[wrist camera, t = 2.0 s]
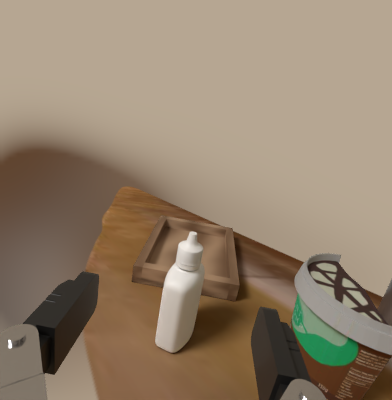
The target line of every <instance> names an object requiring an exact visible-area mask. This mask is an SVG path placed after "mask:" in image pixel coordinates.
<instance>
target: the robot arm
mask: <svg viewBox="0 0 392 400" xmlns="http://www.w3.org/2000/svg"><path fill="white" fill-rule="evenodd" d="M98 285H99V275H98V274H94V273H89V272H84V271H83V272H82V273H80V275H79V276H78V277H77V278H76V279H75V280H74V281H73V280H67V281H66V282H64V283H62V284H60V285H59V286H58V287H57V288H56V289H55V290H54V291H53V292H52V294H50V295H49V296H48V297H47V298H46V300H45V301H44V302H43V303H42V304H41V305H40V306H39V307H38V308H37V309H36V310H35V311H34V312H33V313H32V314H31V315H30V316H29V317H28V318H27V320H26V321H25V322H24V323H23V324H19V325H15V326H12V327H9V328H7V329H5V330H4V331H2V332H1V333H0V400H47V393H46V384H45V376H44V374H45V373H48V374H53V375H54V374H55V373H56V372H57V370H58V368H59V367H60V365H61V364H62V362H63V360H64V359H65V357H66V356H67V354H68V353H69V351H70V349H71V348H72V346H73V345H74V343H75V341H76V340H77V338H78V337H79V335H80V333H81V332H82V330H83V329H84V327H85V325H86V324H87V322H88V321H89V319H90V318H91V316H92V314H93V313H94V310H95V308H96V305H97V299H98ZM377 311H378V312H379V313H380V314H381V316H382V317H383V318H384V320H385V321H386V322H387V323H388V324H389V325H390V326H392V280H391V282H390V284H389V286H388V289H387V290H386V293H385V295H384V297H383V299H382V301H381V303H380V305H379V307H378V309H377ZM251 347H252V354H253V360H254V367H255V374H256V381H257V387H258V394H259V400H326V398H325V396H324V394H323V393H322V392H321V391H320V390H319V389H318V388H317V387H316V386H315V385H314V384H312V382H311V379H310V377H309V374H308V371H307V368H306V365H305V362H304V360H303V357H302V354H301V352H300V348H299V345H298V344H297V340H296V337H295V334H294V332H293V331H292V329H291V328H290V327H289V326H288V324H287V323H283V322H280V319H279V315H278V312H277V310H275V309H270V308H265V307H260V308H259V311H258V314H257V317H256V321H255V324H254V327H253V331H252V336H251Z"/></svg>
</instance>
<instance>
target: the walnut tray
mask: <svg viewBox="0 0 392 400" xmlns="http://www.w3.org/2000/svg"><path fill="white" fill-rule="evenodd" d="M191 231H193V232H196V233H197V242H198V243H200V244H201V245H202V246H203V254H202V259H201V263H202V264H203V266H204V269H205V275H204V281H203V286H202V291H201V295H205V296H210V297H216V298H221V299H226V300H231V301H236V298H237V294H238V290H239V286H240V284H239V276H238V268H237V260H236V253H235V245H234V237H233V229H232V228H228V227H222V226H217V225H211V224H206V223H201V222H195V221H190V220H184V219H179V218H173V217H168V216H163V215H161V217H160V218H159V220H158V222H157V224H156V226H155V227H154V229H153V231H152V233H151V235H150V236H149V238H148V240H147V242H146V244H145V246H144V247H143V249H142V251H141V253H140V255H139V256H138V258H137V260H136V262H135V264H134V265H133V275H132V282H137V283H142V284H147V285H152V286H158V287H164V282H165V278H166V275H167V273H168V271H169V270H170V268H171V267H172V266H173V265H174V264H175V263H176V256H177V250H178V245H179V243H180V242H182V241H185V240H187V238H188V236H189V233H190V232H191Z"/></svg>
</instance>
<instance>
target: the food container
mask: <svg viewBox="0 0 392 400" xmlns="http://www.w3.org/2000/svg"><path fill="white" fill-rule="evenodd" d="M340 258H341V255H338V254H329V253H325V254H316V255H314V256H311V257H310V258H309V259H308V260H307V261H306V262H304V264H303V265H302V267H301V268H300V270H299V271H298V273H297V274H296V276H295V287H296V289H297V292H298V295H297V299H296V303H295V307H294V311H293V315H292V319H291V323H290V328H291V329H292V331H293V332H294V334H295V337H296V340H297V344H298V345H299V348H300V352H301V354H302V357H303V360H304V362H305V365H306V368H307V371H308V374H309V377H310V379H311V382H312V384H314V385H315V386H316V387H317V388H318V389H319V390H320V391H321V392H322V393H323V394H324V396H325V398H327V399H329V400H361V399H362V398H363V397H364V395H365V394H366V392H367V391H368V389H369V388H370V387H371V385H372V384H373V382H374V381H375V379H376V378H377V377H378V375H379V374H380V372H381V371H382V369H383V368H384V367H385V365H386V364H387V362H388V361H389V359H390V358H391V357H392V326H390V325H389V324H388V323H387V322H386V321H385V320H384V318H383V317H382V316H381V314H380V313H379V312H378V311H377V309H376V307H375V306H374V304H373V302H372V301H371V299H370V297H369V296H368V294H367V293H366V291H365V290H364V289H363V288H362V287H361V286H360V285H359V284H358V283H357V282H356V281H354V280H353V279H352V278H351V277H350V276H349V275H348V274H347V273H346V272H345V271H344V269H343V268H342V267H341V265H340V264H339V261H340Z"/></svg>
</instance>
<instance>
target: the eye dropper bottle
mask: <svg viewBox="0 0 392 400" xmlns="http://www.w3.org/2000/svg"><path fill="white" fill-rule="evenodd" d="M202 254H203V246H202V245H201V244H200V243H198V242H197V233H196V232H193V231H191V232H190V233H189V236H188V238H187V240H185V241H182V242H180V243H179V245H178V250H177V256H176V263H175V264H174V265H173V266H172V267H171V268H170V270H169V271H168V273H167V275H166V278H165V282H164V287H163V293H162V299H161V305H160V312H159V319H158V325H157V332H156V339H155V343H156V345H157V346H158V347H160V348H162V349H164V350H166V351H168V352H170V353H175V352H177V351H178V350H180V349H181V348H182V347H183V346H184V345H185V344H186V343H187V342H188V340H189V339H190V337H191V335H192V333H193V329H194V325H195V320H196V315H197V311H198V306H199V301H200V296H201V291H202V286H203V281H204V275H205V269H204V266H203V264H202V263H201V259H202Z"/></svg>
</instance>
